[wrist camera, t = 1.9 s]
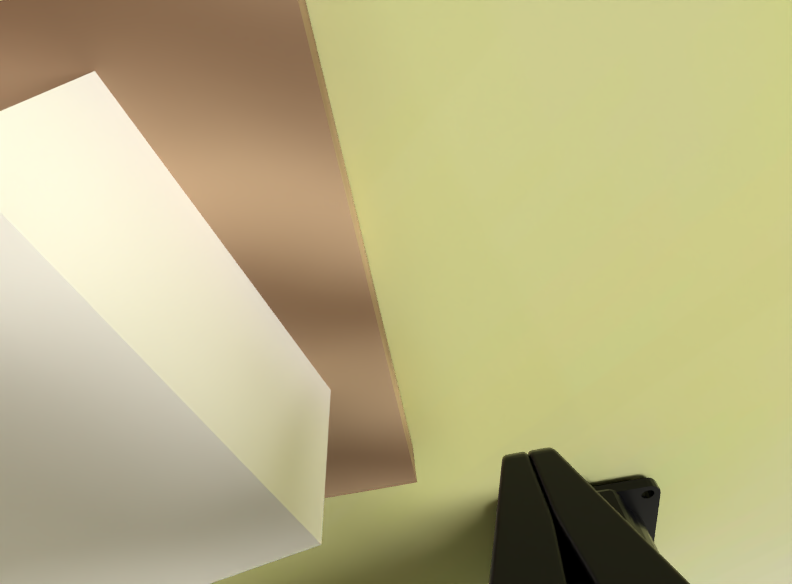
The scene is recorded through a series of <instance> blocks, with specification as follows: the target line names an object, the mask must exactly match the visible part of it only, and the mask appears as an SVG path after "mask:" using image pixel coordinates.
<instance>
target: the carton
mask: <svg viewBox="0 0 792 584" xmlns="http://www.w3.org/2000/svg"><path fill="white" fill-rule="evenodd" d="M330 395H331V390H330V388H329V387H328V386H327V384H326V383H325V382H324V380H323V379H322V378H321V376H320V375H319V373H318V372H317V371H316V369H315V368H314V367H313V365H312V364H311V363H310V361H309V360H308V359H307V357H306V356H305V355H304V353H303V352H302V351H301V349H300V348H299V346H298V345H297V344H296V342H295V341H294V340H293V338H292V337H291V336H290V334H289V333H288V332H287V330H286V329H285V328H284V326H283V325H282V323H281V322H280V321H279V319H278V318H277V317H276V315H275V314H274V313H273V311H272V310H271V309H270V307H269V306H268V305H267V303H266V302H265V300H264V299H263V298H262V296H261V295H260V294H259V292H258V291H257V290H256V288H255V287H254V286H253V284H252V283H251V282H250V280H249V279H248V277H247V276H246V275H245V273H244V272H243V271H242V269H241V268H240V267H239V265H238V264H237V263H236V261H235V260H234V259H233V257H232V256H231V254H230V253H229V252H228V250H227V249H226V248H225V246H224V245H223V244H222V242H221V241H220V240H219V238H218V237H217V236H216V234H215V233H214V232H213V230H212V229H211V227H210V226H209V225H208V223H207V222H206V221H205V219H204V218H203V217H202V215H201V214H200V213H199V211H198V210H197V209H196V207H195V206H194V204H193V203H192V202H191V200H190V199H189V198H188V196H187V195H186V194H185V192H184V191H183V190H182V188H181V187H180V186H179V184H178V183H177V181H176V180H175V179H174V177H173V176H172V175H171V173H170V172H169V171H168V169H167V168H166V167H165V165H164V164H163V163H162V161H161V160H160V158H159V157H158V156H157V154H156V153H155V152H154V150H153V149H152V148H151V146H150V145H149V144H148V142H147V141H146V140H145V138H144V137H143V135H142V134H141V133H140V131H139V130H138V129H137V127H136V126H135V125H134V123H133V122H132V121H131V119H130V118H129V117H128V115H127V114H126V113H125V111H124V110H123V108H122V107H121V106H120V104H119V103H118V102H117V100H116V99H115V98H114V96H113V95H112V94H111V92H110V91H109V90H108V88H107V87H106V85H105V84H104V83H103V81H102V80H101V79H100V77H99V76H98V75H97V73H96V72H95V71H93V72H91V73H89V74H86V75H84V76H82V77H79V78H77V79H75V80H72V81H70V82H68V83H65V84H63V85H61V86H58V87H56V88H54V89H51V90H49V91H46V92H44V93H42V94H39V95H37V96H35V97H32V98H30V99H28V100H25V101H23V102H21V103H18V104H16V105H14V106H11V107H9V108H7V109H4V110H2V111H0V584H211V583H214V582H216V581H219V580H222V579H225V578H228V577H231V576H234V575H236V574H239V573H242V572H245V571H248V570H251V569H253V568H256V567H259V566H262V565H265V564H268V563H271V562H273V561H276V560H279V559H282V558H285V557H288V556H291V555H293V554H296V553H299V552H302V551H305V550H308V549H310V548H313V547H316V546H319V545H322V528H323V512H324V495H325V478H326V461H327V445H328V428H329V411H330Z"/></svg>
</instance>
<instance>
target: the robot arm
mask: <svg viewBox="0 0 792 584" xmlns="http://www.w3.org/2000/svg"><path fill="white" fill-rule="evenodd" d="M660 493H661V492H660V488H659V487H658V485H657V483H656V482H655V480H654V479H651V478H641V479H635V480H630V481H624V482H618V483H612V484H606V485H600V486H594V487H592V486H591V485H590V484H589V483H588V482H587V481H586V480H585V479H584V478H583V477H582V476H581V475H580V474H579V473H578V472H577V471H576V470H575V469H574V468H573V467H572V466H571V465H570V464H569V463H568V462H567V461H566V460H565V459H564V458H563V457H562V456H561V455H560V454H559V453H558V452H557V451H556V450H554V449H553V448H543V449H537V450H532V451H530V452H529V453H528V454H527V453H525V452H519V453H514V454H508V455H505V456H504V457H503V459H502V467H501V476H500V485H499V495H498V504H497V510H496V512H497V513H496V523H495V532H494V541H493V551H492V560H491V569H490V579H489V584H690V583H689V582H688V581H687V580H686V579H685V578H684V577H683V576H682V575H681V574H680V573H679V572H678V571H677V570H676V569H675V568H674V567H673V566H672V565H671V564H670V563H669V562H668V561H667V560H665V559H664V558H663V557H662V556H661V555H660V554H659V552H658V550H657V548H656V546H655V544H654V537H655V530H656V522H657V515H658V507H659V500H660Z"/></svg>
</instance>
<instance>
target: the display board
mask: <svg viewBox="0 0 792 584" xmlns="http://www.w3.org/2000/svg"><path fill="white" fill-rule="evenodd" d="M93 71H95V72H96V73H97V75H98V76H99V77H100V79H101V80H102V81H103V83H104V84H105V85H106V87H107V88H108V90H109V91H110V92H111V94H112V95H113V96H114V98H115V99H116V100H117V102H118V103H119V104H120V106H121V107H122V108H123V110H124V111H125V113H126V114H127V115H128V117H129V118H130V119H131V121H132V122H133V123H134V125H135V126H136V127H137V129H138V130H139V131H140V133H141V134H142V135H143V137H144V138H145V140H146V141H147V142H148V144H149V145H150V146H151V148H152V149H153V150H154V152H155V153H156V154H157V156H158V157H159V158H160V160H161V161H162V163H163V164H164V165H165V167H166V168H167V169H168V171H169V172H170V173H171V175H172V176H173V177H174V179H175V180H176V181H177V183H178V184H179V186H180V187H181V188H182V190H183V191H184V192H185V194H186V195H187V196H188V198H189V199H190V200H191V202H192V203H193V204H194V206H195V207H196V209H197V210H198V211H199V213H200V214H201V215H202V217H203V218H204V219H205V221H206V222H207V223H208V225H209V226H210V227H211V229H212V230H213V232H214V233H215V234H216V236H217V237H218V238H219V240H220V241H221V242H222V244H223V245H224V246H225V248H226V249H227V250H228V252H229V253H230V254H231V256H232V257H233V259H234V260H235V261H236V263H237V264H238V265H239V267H240V268H241V269H242V271H243V272H244V273H245V275H246V276H247V277H248V279H249V280H250V282H251V283H252V284H253V286H254V287H255V288H256V290H257V291H258V292H259V294H260V295H261V296H262V298H263V299H264V300H265V302H266V303H267V305H268V306H269V307H270V309H271V310H272V311H273V313H274V314H275V315H276V317H277V318H278V319H279V321H280V322H281V323H282V325H283V326H284V328H285V329H286V330H287V332H288V333H289V334H290V336H291V337H292V338H293V340H294V341H295V342H296V344H297V345H298V346H299V348H300V349H301V351H302V352H303V353H304V355H305V356H306V357H307V359H308V360H309V361H310V363H311V364H312V365H313V367H314V368H315V369H316V371H317V372H318V373H319V375H320V376H321V378H322V379H323V380H324V382H325V383H326V384H327V386H328V387H329V388H330V390H331V395H330V411H329V428H328V445H327V461H326V478H325V495H324V498H328V497H334V496H339V495H345V494H351V493H357V492H363V491H369V490H374V489H380V488H386V487H392V486H398V485H403V484H409V483H415V482H417V479H416V471H415V462H414V453H413V447H412V443H411V438H410V434H409V430H408V426H407V422H406V418H405V413H404V409H403V405H402V401H401V397H400V393H399V388H398V384H397V380H396V376H395V372H394V368H393V364H392V359H391V355H390V351H389V347H388V343H387V339H386V334H385V330H384V326H383V322H382V318H381V314H380V309H379V305H378V301H377V297H376V293H375V289H374V284H373V280H372V276H371V272H370V268H369V264H368V260H367V255H366V251H365V247H364V243H363V239H362V235H361V230H360V226H359V222H358V218H357V214H356V210H355V205H354V201H353V197H352V193H351V189H350V185H349V180H348V176H347V172H346V168H345V164H344V160H343V156H342V151H341V147H340V143H339V139H338V135H337V131H336V126H335V122H334V118H333V114H332V110H331V106H330V101H329V97H328V93H327V89H326V85H325V81H324V76H323V72H322V68H321V64H320V60H319V56H318V52H317V47H316V43H315V39H314V35H313V31H312V27H311V22H310V18H309V14H308V10H307V6H306V2H305V0H3V1H0V111H2V110H4V109H7V108H9V107H11V106H14V105H16V104H18V103H21V102H23V101H25V100H28V99H30V98H32V97H35V96H37V95H39V94H42V93H44V92H46V91H49V90H51V89H54V88H56V87H58V86H61V85H63V84H65V83H68V82H70V81H72V80H75V79H77V78H79V77H82V76H84V75H86V74H89V73H91V72H93Z"/></svg>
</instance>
